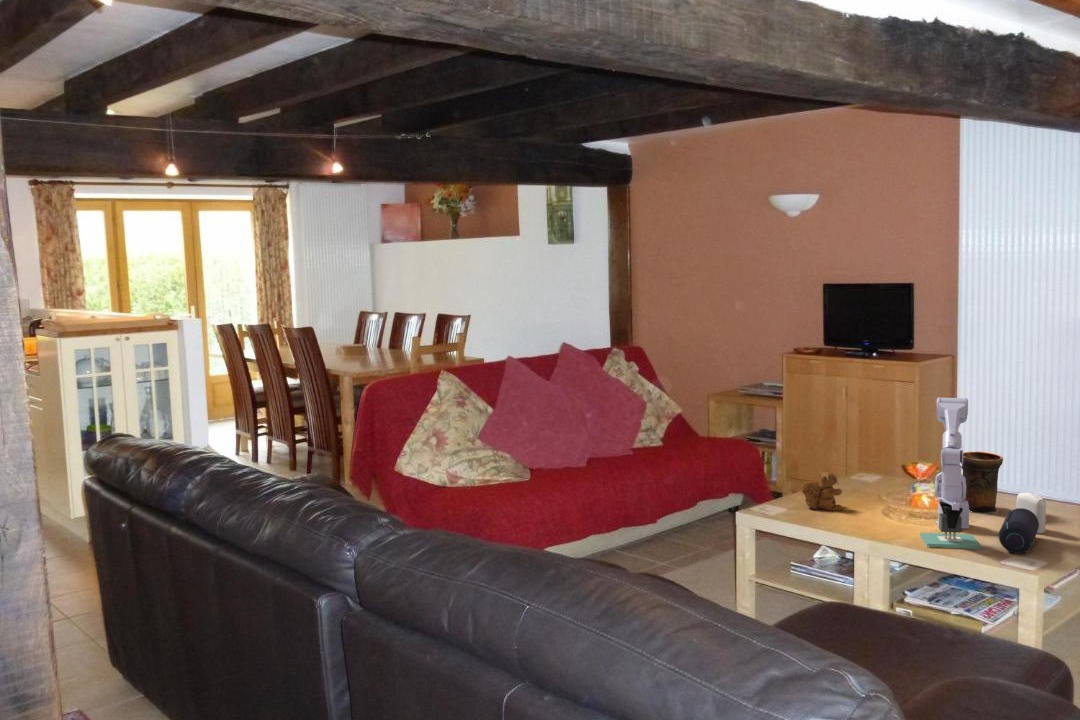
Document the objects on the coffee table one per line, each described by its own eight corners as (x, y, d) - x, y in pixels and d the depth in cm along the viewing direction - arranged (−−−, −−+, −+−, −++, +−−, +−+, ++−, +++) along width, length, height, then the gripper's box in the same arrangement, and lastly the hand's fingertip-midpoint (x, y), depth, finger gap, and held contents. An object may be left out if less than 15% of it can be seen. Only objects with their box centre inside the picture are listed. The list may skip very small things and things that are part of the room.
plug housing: (958, 529, 306) (958, 514, 305) (961, 532, 302) (961, 517, 301) (938, 528, 307) (939, 513, 306) (941, 531, 303) (941, 516, 303)
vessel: (990, 502, 350) (992, 450, 348) (1008, 514, 336) (1010, 459, 333) (951, 503, 351) (952, 451, 348) (967, 515, 336) (969, 460, 334)
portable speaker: (1005, 533, 314) (1006, 503, 313) (1039, 537, 309) (1040, 507, 307) (996, 554, 293) (997, 522, 292) (1032, 558, 287) (1033, 526, 286)
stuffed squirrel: (845, 510, 345) (845, 475, 344) (806, 511, 345) (806, 476, 343) (836, 503, 355) (836, 469, 353) (799, 504, 355) (799, 470, 353)
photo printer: (1013, 526, 321) (1014, 490, 320) (1024, 524, 322) (1025, 489, 321) (1036, 534, 311) (1037, 497, 310) (1047, 533, 312) (1048, 496, 311)
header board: (971, 537, 309) (972, 526, 309) (981, 549, 297) (981, 537, 297) (920, 536, 312) (920, 525, 312) (927, 547, 301) (927, 535, 300)
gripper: (933, 479, 311) (932, 519, 312) (942, 490, 296) (941, 532, 298) (956, 479, 309) (955, 520, 311) (966, 490, 295) (965, 533, 297)
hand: (950, 526), depth 304 cm, fingers closed on plug housing, 4 cm apart
